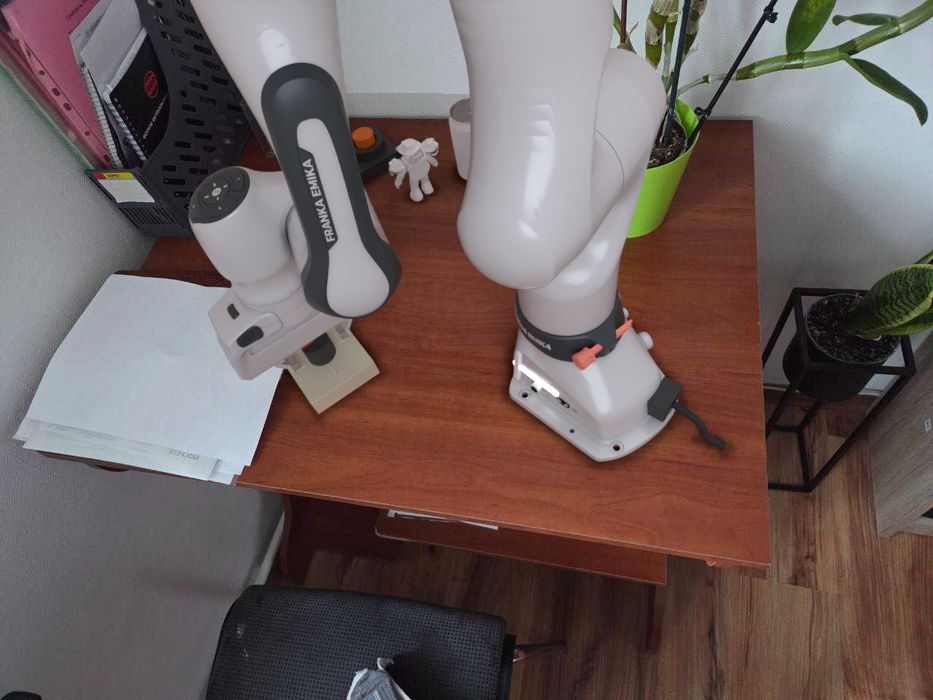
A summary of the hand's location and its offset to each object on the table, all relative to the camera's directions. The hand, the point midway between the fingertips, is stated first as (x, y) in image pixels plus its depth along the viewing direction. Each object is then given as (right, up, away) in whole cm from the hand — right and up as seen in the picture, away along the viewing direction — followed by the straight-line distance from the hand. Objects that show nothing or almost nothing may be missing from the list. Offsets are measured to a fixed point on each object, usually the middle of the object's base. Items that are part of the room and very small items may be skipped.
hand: (320, 350), depth 84 cm
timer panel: (+1, -3, +3) cm, 4 cm away
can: (+22, +31, +20) cm, 43 cm away
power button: (+2, +36, +22) cm, 43 cm away
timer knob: (0, 0, +1) cm, 1 cm away
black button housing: (+3, +34, +25) cm, 43 cm away
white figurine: (+13, +26, +19) cm, 35 cm away
